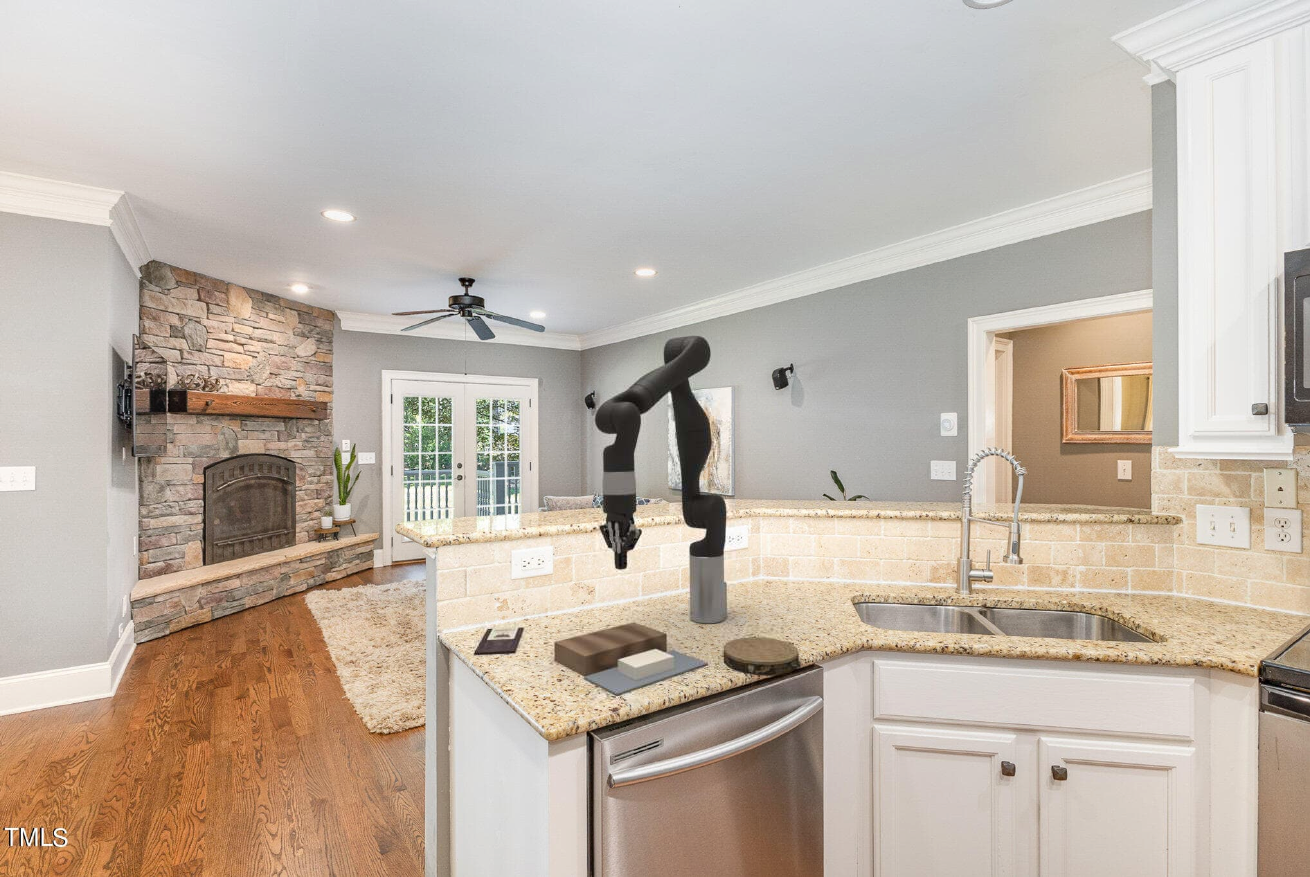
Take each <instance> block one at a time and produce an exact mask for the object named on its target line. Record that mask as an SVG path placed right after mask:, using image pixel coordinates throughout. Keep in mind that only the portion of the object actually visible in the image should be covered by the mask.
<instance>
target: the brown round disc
mask: <svg viewBox="0 0 1310 877" xmlns="http://www.w3.org/2000/svg"><path fill="white" fill-rule="evenodd" d="M799 653H800V652H799V649H798V648H797V646H795V645H794V644H792V643H790V642H787V641H784V640H781V639H777V638H776V639H775V638H769V637H755V636H753V637H749V636H748V637H742V638H741V637H740V638H736V639H733V640H730V641H728V642H726V643H725V644H724V645H723V663H724V664H725V666H726V667H728V668H730V669H732V670H733V671H736V672H740V673H741V674H742V673H743V674H745V675H746V674H748V675H755V676H767V677H768V676H769V677H770V676H780V675H784V674H787V673H792V672H793V671H794V670H796V669H797V668H798V667H799V666H800V664H799V660H800V659H799V655H800V654H799Z"/></svg>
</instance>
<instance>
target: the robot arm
mask: <svg viewBox="0 0 1310 877" xmlns="http://www.w3.org/2000/svg"><path fill="white" fill-rule="evenodd" d="M711 353H712V352H711V346H710V345H709V342H708V340H706V338H704V337H703V336H700V335H688V336H687V335H686V336H679V337H674V338H673V337H672V338H670V339H668V340H667V341H666V343H665V345H664V348H663V364H662V366H659V367H657V368H654V369H653V370H651V371H650V372H647V373H645V374H643V375H642V376H641V377H640V378H639V379H637V380H636V381H635V382H634V383H633V384H632V385H631V386H630V387H628V389H626V390H624V391H623V392H620V393H618V394H617V395H614V396H613V397H611V398H609V399H607V400H606V401H605V402H603V403H602V404H601V405H600V406H599V407H598V409H597V410H596V412H595V415H594V416H595V417H594V422H595V423H594V424H595V427H596V428H597V430H599V432H601V433H603V434H606V435H616V436H615V438H614V439H615V440H614V442H613V443H612V444H609V445H607V446H605V447H604V448H603V451H602V462H603V464H602V466H603V467H602V468H603V469H602V470H603V471H602V481H601V482H602V484H601V485H602V511H603V514H606V517H605V522H604V524H602V525H599V531H600V533H601V535H602V537H603V539H604V542H605V543H606V546H607V548H608V549H611V550H612V552H613V554H614V556H613V557H614V558H613V559H614V566H615V567H614V569H616V570H619V571H623V570H626V569H627V567H628V552H630V551H632V550H634V548H635V547H636V545H637V543H638V541H639V540H640V538H641V535H642V533H643V531H642V529H641V528H639V529H638V528H637V527H636V525H635V523H636V522H635V519H634V513H636V512H637V479H636V472H635V452H636V447H637V444H638V439H639V434H640V431H641V426H642V416H641V415H644V414H646V413H648V412H649V411H651V409H652V408H654V406H656V404H658V403H659V402H660V401H661V399H662V398H664V397H665V396H666V395H667V394H669V393H670V395H671V396H670V398H671V403H672V410H673V417H674V418H673V419H674V428H675V437H676V445H677V451H678V458H679V459H678V460H679V468H680V480H681V482H680V483H681V510H682V517H683V520H684V523H685V524H686V526H688V527H689V528H692V529H700V530H705V536H704V537H703V538H702V539H700V540H697V541H694V542H691V543H690V545H689V548H688V549H689V551H688V552H689V554H688V555H689V556H688V557H689V558H688V560H689V619H690V621H692V622H696V623H699V624H717V623H720V622H723V621H725V619H727V618H728V593H727V592H728V587H727V586H728V585H727V584H728V583H727V582H726V581H725V546H726V541H727V540H726V535H727V532H726V531H727V505H726V502H725V499H724V498H723V496H721V495H718V494H703V493H702V494H701V490H700V488H701V487H700V480H701V474H702V470H703V468H704V466H705V464H706V462H707V460H708V458H709V456H710V453H711V450H712V447H713V440H712V430H711V429H712V428H711V423H710V419H709V417H708V415H707V413H706V411H705V410H704V408H703V407H702V405H701V403H699V402H698V400H697V398H696V397H695V395H694V393H693V392H692V389H691V385H690V380H689V379H690V378H691V377H692V376H695V375H696V374H698V373H700V372H701V371H703V370H704V369H706V368H707V366H708V365H709V363H710V360H711V355H712V354H711Z"/></svg>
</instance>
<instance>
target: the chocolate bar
mask: <svg viewBox="0 0 1310 877" xmlns="http://www.w3.org/2000/svg"><path fill="white" fill-rule="evenodd" d="M524 629H525V627H524V626H523V627H499V628H487V629H486V630H485V632H484V634H483V636H482V638H481V640H480V641H479V643H478V645H477V646H476V649H475V650H474V652H473V655H474V656H488V655H509V654H510V655H512V654H513V655H515V654H516V652H517V649H518V647H519V644H520V641H521V639H522V636H523V632H524Z"/></svg>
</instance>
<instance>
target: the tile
mask: <svg viewBox="0 0 1310 877" xmlns="http://www.w3.org/2000/svg"><path fill="white" fill-rule="evenodd" d="M617 667H618V672H619V673H621V674H623V675H625V676H627V677H630V678H632V679H634V680H639V679H642V678H646V677H649V676H652V675H655V674H658V673H661V672H664V671H668V670H671V669H674V656H672V655H670V654H667V653H665V652H662V651H660V650H657V649H654V650H650V651H647V652H643V653H639V654H636V655H632V656H629V657H625V658H622V659H618V666H617Z"/></svg>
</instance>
